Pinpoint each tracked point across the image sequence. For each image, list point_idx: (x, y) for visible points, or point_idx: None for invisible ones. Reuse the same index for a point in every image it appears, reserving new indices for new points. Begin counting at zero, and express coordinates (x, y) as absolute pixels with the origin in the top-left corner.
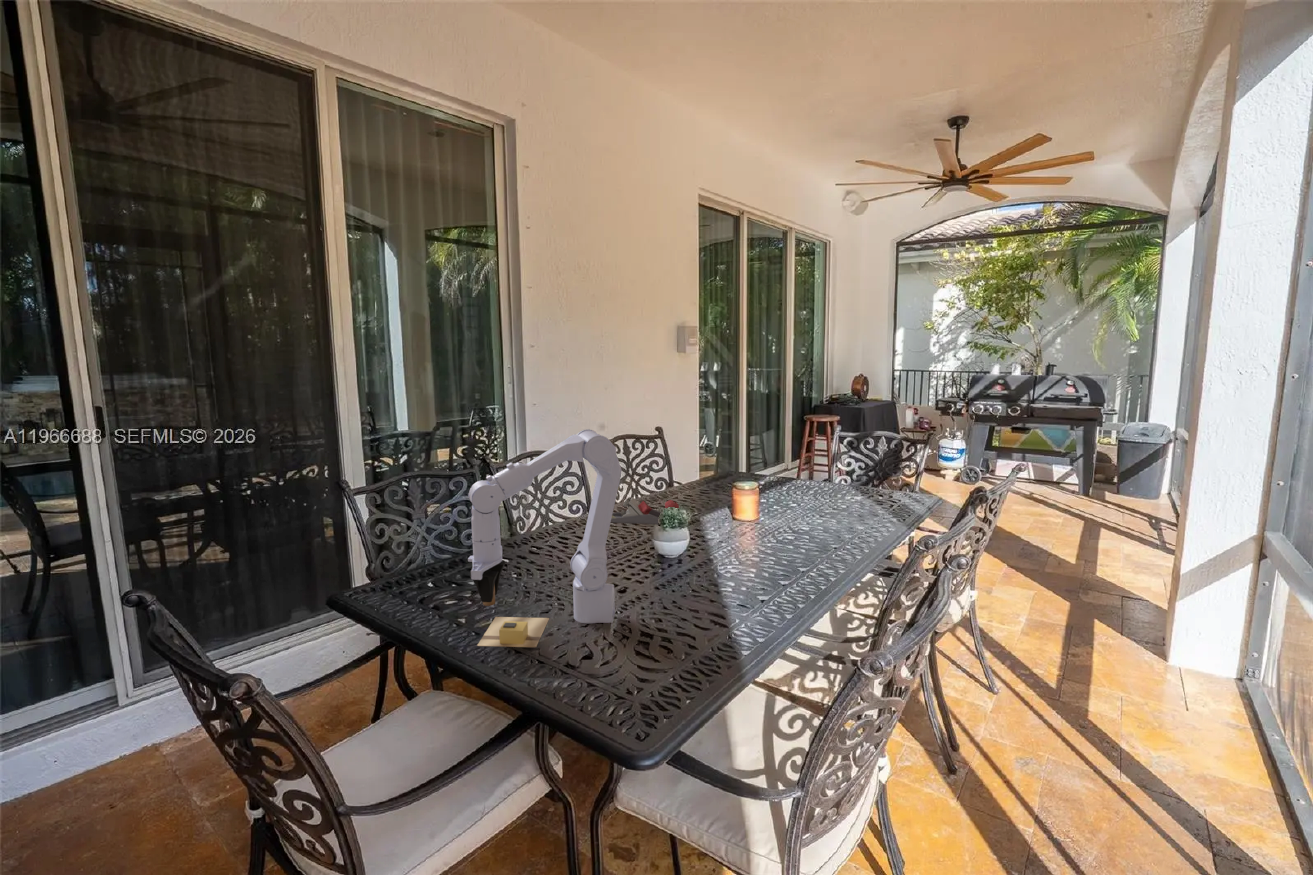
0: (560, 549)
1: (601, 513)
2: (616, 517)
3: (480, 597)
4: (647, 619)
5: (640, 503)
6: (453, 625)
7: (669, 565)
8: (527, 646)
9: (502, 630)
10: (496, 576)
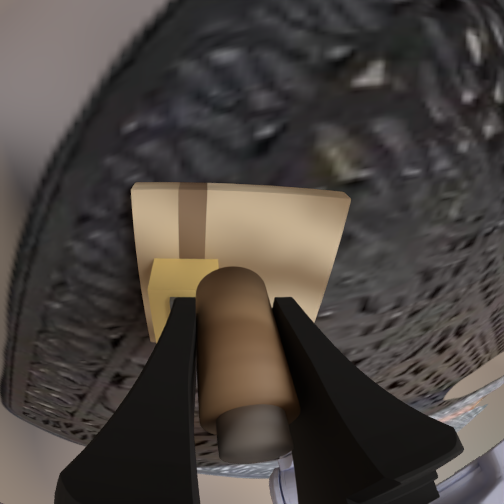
0: None
1: None
2: None
3: (168, 317)
4: None
5: None
6: (336, 48)
7: (434, 397)
8: (149, 326)
9: (149, 298)
10: (297, 446)
